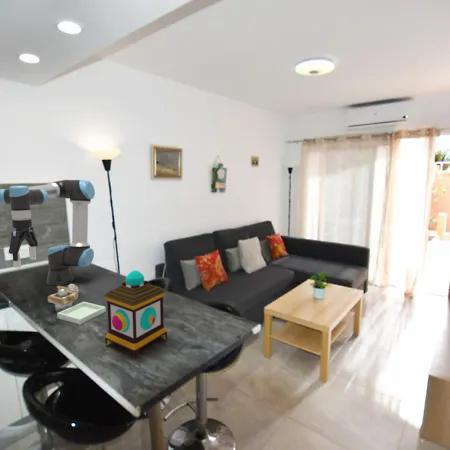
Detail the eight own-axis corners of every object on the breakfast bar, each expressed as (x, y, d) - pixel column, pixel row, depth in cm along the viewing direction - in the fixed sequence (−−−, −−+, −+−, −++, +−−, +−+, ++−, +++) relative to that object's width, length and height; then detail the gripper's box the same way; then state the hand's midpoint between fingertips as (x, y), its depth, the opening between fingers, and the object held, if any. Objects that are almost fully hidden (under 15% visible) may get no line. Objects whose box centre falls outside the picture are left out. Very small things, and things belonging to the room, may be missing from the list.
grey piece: (65, 304, 154) (64, 283, 152) (75, 307, 151) (74, 285, 149) (51, 310, 147) (50, 288, 146) (62, 313, 144) (60, 290, 143)
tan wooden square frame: (65, 295, 155) (64, 289, 154) (81, 299, 150) (80, 293, 150) (48, 302, 146) (47, 296, 146) (64, 306, 142) (63, 300, 141)
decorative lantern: (134, 362, 106) (131, 282, 102) (99, 346, 116) (96, 272, 112) (172, 338, 123) (171, 268, 118) (139, 325, 133) (137, 260, 129)
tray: (84, 306, 152) (83, 301, 152) (106, 311, 147) (105, 306, 146) (57, 318, 139) (57, 313, 139) (80, 324, 133) (80, 319, 133)
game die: (76, 303, 165) (87, 289, 165) (63, 303, 158) (74, 288, 157) (69, 292, 169) (79, 278, 169) (56, 291, 162) (66, 277, 161)
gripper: (27, 216, 150) (31, 256, 153) (-5, 222, 125) (0, 271, 128) (43, 216, 151) (46, 256, 154) (14, 222, 126) (19, 270, 129)
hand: (25, 263), depth 141 cm, fingers open, 13 cm apart
